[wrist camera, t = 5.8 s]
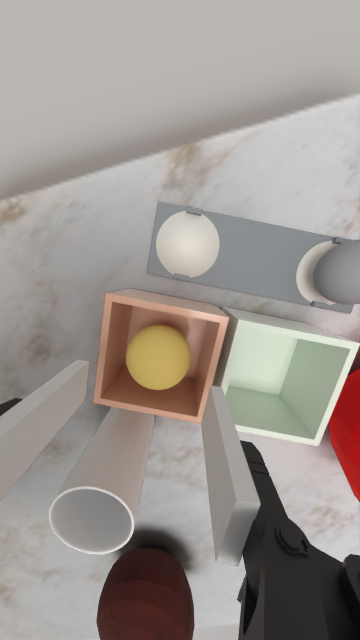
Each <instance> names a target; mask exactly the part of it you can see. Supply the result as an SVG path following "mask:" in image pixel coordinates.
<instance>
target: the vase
mask: <svg viewBox="0 0 360 640" xmlns="http://www.w3.org/2000/svg"><path fill="white" fill-rule="evenodd" d="M329 427H330V437H331V443H332V446H333V448H334V450H335V453H336V455H337V457H338V459H339V462H340V464H341V466H342V469H343V471H344V473H345V475H346V478H347V480H348V482H349V484H350V487H351V489H352V491H353V493H354V495H355V497H356V498H357V499H358V501H359V502H360V368H358V369H357V370H355V371H354V372H353V373H351V374H350V375H348V376H347V378H346V380H345V383H344V385H343V388H342V390H341V392H340V395H339V397H338V400H337V402H336V405H335V407H334V410H333V412H332V414H331V417H330V419H329Z"/></svg>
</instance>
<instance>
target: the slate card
mask: <svg viewBox="0 0 360 640" xmlns="http://www.w3.org/2000/svg"><path fill="white" fill-rule="evenodd" d="M348 241H352V240H350V239H345V238H340V237H331V236H326V235H321V234H316V233H311V232H306V231H301V230H296V229H291V228H286V227H282V226H277V225H272V224H267V223H262V222H257V221H252V220H247V219H242V218H237V217H233V216H228V215H223V214H218V213H213V212H208V211H203V210H202V209H198V208H193V207H188V206H187V207H184V206H179V205H174V204H169V203H164V202H159V201H158V204H157V211H156V217H155V224H154V230H153V236H152V243H151V249H150V256H149V262H148V268H147V273H148V274H153V275H158V276H163V277H168V278H173V279H178V280H183V281H188V282H193V283H198V284H203V285H208V286H213V287H218V288H223V289H228V290H233V291H238V292H243V293H248V294H253V295H258V296H263V297H268V298H273V299H278V300H283V301H288V302H293V303H298V304H303V305H308V306H313V307H318V308H323V309H328V310H333V311H338V312H343V313H348V314H350V313H351V311H352V308H353V306H354V304H351V305H347V304H339V303H335V302H332V301H330V300H328V299H326V298H324V297H323V296H322V295H321V294H320V293H319V292H318V291H317V289H316V287H315V285H314V280H313V274H314V269H315V267H316V264H317V263H318V261H319V260H320V258H321V257H322V256H323V255H324V254H325V253H326V252H327V251H329V250H330V249H332V248H333V247H335V246H337V245H339V244H341V243H344V242H348Z"/></svg>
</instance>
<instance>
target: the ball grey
mask: <svg viewBox="0 0 360 640" xmlns="http://www.w3.org/2000/svg"><path fill="white" fill-rule="evenodd" d="M313 280H314V285H315V287H316V289H317V291H318V292H319V293H320V294H321V295H322V296H323V297H324V298H326V299H328V300H330V301H332V302H335V303H339V304H347V305H351V304H359V303H360V240H353V241H348V242H344V243H341V244H339V245H337V246H335V247H333V248H332V249H330V250H329V251H327V252H326V253H325V254H324V255H323V256H322V257H321V258H320V260H319V261H318V263H317V264H316V267H315V269H314V274H313Z"/></svg>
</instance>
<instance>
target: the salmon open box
mask: <svg viewBox="0 0 360 640" xmlns="http://www.w3.org/2000/svg"><path fill="white" fill-rule="evenodd" d="M228 320H229V317H228V316H227V315H226V314H225V313H224V312H223V311H221V310H220V309H219V308H218V307H217V306H216V305H212V304H207V303H202V302H197V301H192V300H187V299H182V298H177V297H172V296H167V295H162V294H157V293H152V292H147V291H142V290H137V289H132V288H131V289H125V290H120V291H114V292H108V293H106V295H105V304H104V312H103V321H102V330H101V338H100V347H99V356H98V364H97V373H96V382H95V390H94V399H93V403H96V404H101V405H107V406H112V407H117V408H122V409H127V410H132V411H138V412H143V413H148V414H153V415H158V416H164V417H169V418H174V419H179V420H184V421H189V422H195V423H200V424H201V420H202V416H203V413H204V409H205V405H206V401H207V397H208V393H209V389H210V385H212V383H213V379H214V375H215V371H216V367H217V363H218V359H219V355H220V352H221V348H222V344H223V340H224V336H225V332H226V328H227V324H228ZM155 324H163V325H168V326H171V327H173V328H175V329H177V330H178V331H180V332H181V333H182V334H183V336H184V337H185V338H186V340H187V341H188V344H189V346H190V350H191V363H190V367H189V369H188V371H187V373H186V375H185V376H184V378H183V379H182V380H181V381H180V382H179V383H177V384H176V385H174V386H172V387H170V388H168V389H164V390H153V389H148V388H146V387H144V386H142V385H140V384H139V383H137V382H136V381H135V380H134V378H133V377H132V376H131V374H130V372H129V370H128V367H127V363H126V353H127V348H128V345H129V343H130V341H131V339H132V338H133V337H134V335H135V334H136V333H138V332H139V331H140V330H141V329H143V328H145V327H147V326H150V325H155Z"/></svg>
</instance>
